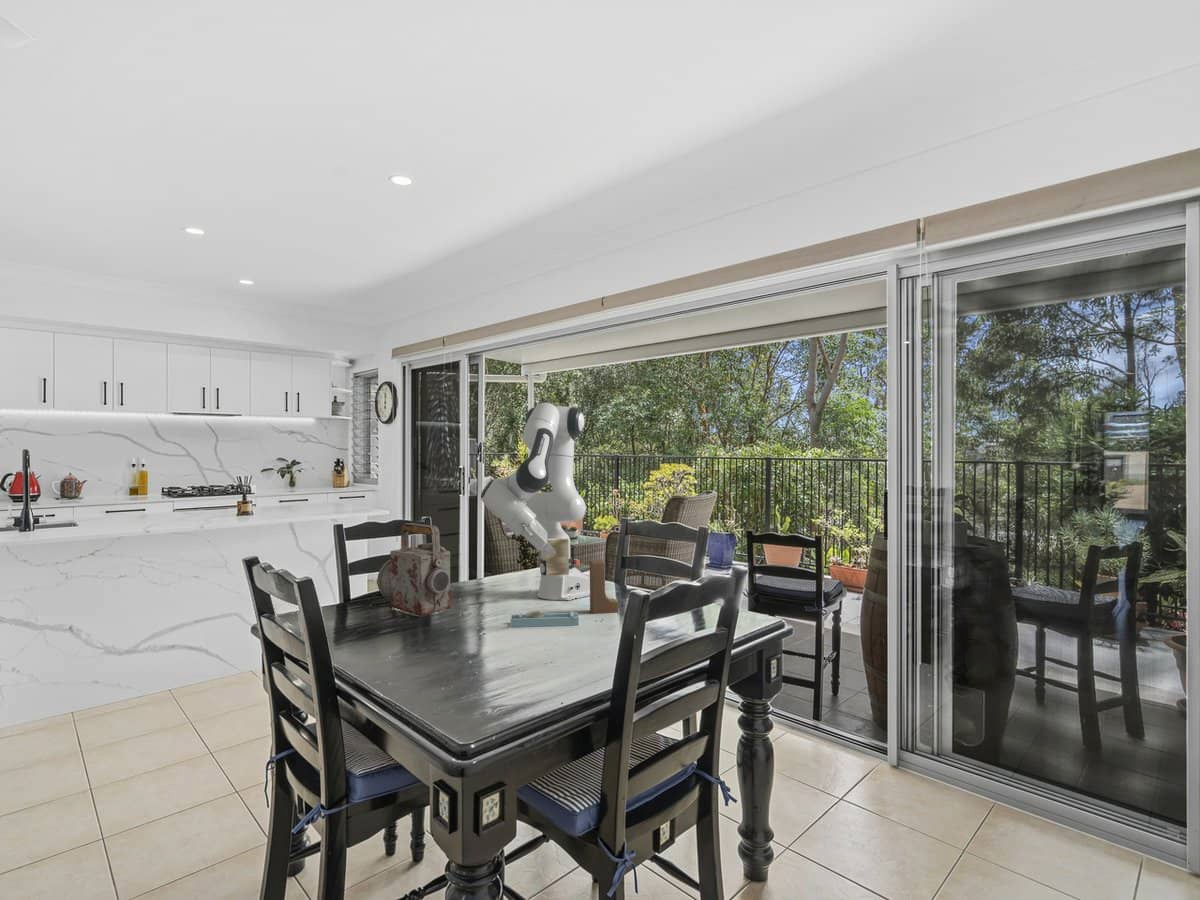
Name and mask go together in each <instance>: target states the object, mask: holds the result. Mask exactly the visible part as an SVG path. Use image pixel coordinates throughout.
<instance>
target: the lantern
mask: <svg viewBox="0 0 1200 900" xmlns="http://www.w3.org/2000/svg"><path fill="white" fill-rule="evenodd" d="M439 529H440V528H439V527H438V526H437V525H430V524H423V523H413V522H407V523H403V524H402V525H401V531H400V533H401V534H400V548H399V549H394V550H390V553H389V557H390V559H389V560H387V561H386V562H384V564H383V565H382V566H381V567H380V569H379V571H378V574H377V578H376V584H377V588H378V590H379V592H380V593H381V595H382V596H383V597H385V598H387V599H390V602H391V603H390V608H391V607H394V608H397V609H400V610H403V611H406V612H409V613H413V614H416V615H419V616H423V615H426V614H431V613H435V612H440V611H443V610H447V609H450V608H452V607H451V606H452V605H451V551H450V550H446V548H445V546H444V547H443V546H442V545H441V539H440V530H439ZM409 533H413V534H420V535H427V536H432V541H431V542H429V543H428V542H427V543H421V544H417V546H415V547H409V545H410V543H409Z"/></svg>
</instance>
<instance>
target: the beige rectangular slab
mask: <svg viewBox="0 0 1200 900" xmlns="http://www.w3.org/2000/svg"><path fill="white" fill-rule="evenodd" d="M547 542H548V543H549V544H550V545H551V546H552V547H553V548H554V549H555V550H556V553H555V554H554V555H551V554H550V553H549V552H548V551H546V575H569V546H568V538H565V539H547Z"/></svg>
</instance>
